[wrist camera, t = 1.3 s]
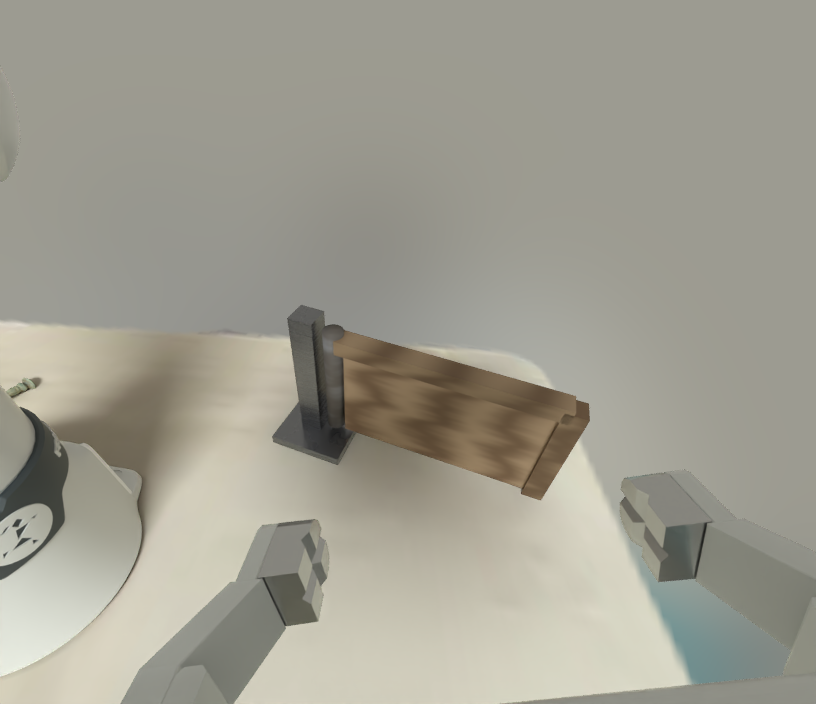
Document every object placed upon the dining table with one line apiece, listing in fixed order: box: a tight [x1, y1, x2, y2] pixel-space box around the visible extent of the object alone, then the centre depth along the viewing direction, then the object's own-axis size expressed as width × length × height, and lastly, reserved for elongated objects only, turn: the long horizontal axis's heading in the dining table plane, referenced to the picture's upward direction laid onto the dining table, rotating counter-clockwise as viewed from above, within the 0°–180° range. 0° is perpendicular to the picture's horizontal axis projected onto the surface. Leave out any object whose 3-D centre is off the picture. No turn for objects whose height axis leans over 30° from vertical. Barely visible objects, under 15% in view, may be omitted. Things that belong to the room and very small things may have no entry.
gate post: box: [272, 305, 356, 465], centre depth 40 cm, size 8×8×16 cm
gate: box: [322, 325, 590, 500], centre depth 38 cm, size 24×2×13 cm, turn 71°
